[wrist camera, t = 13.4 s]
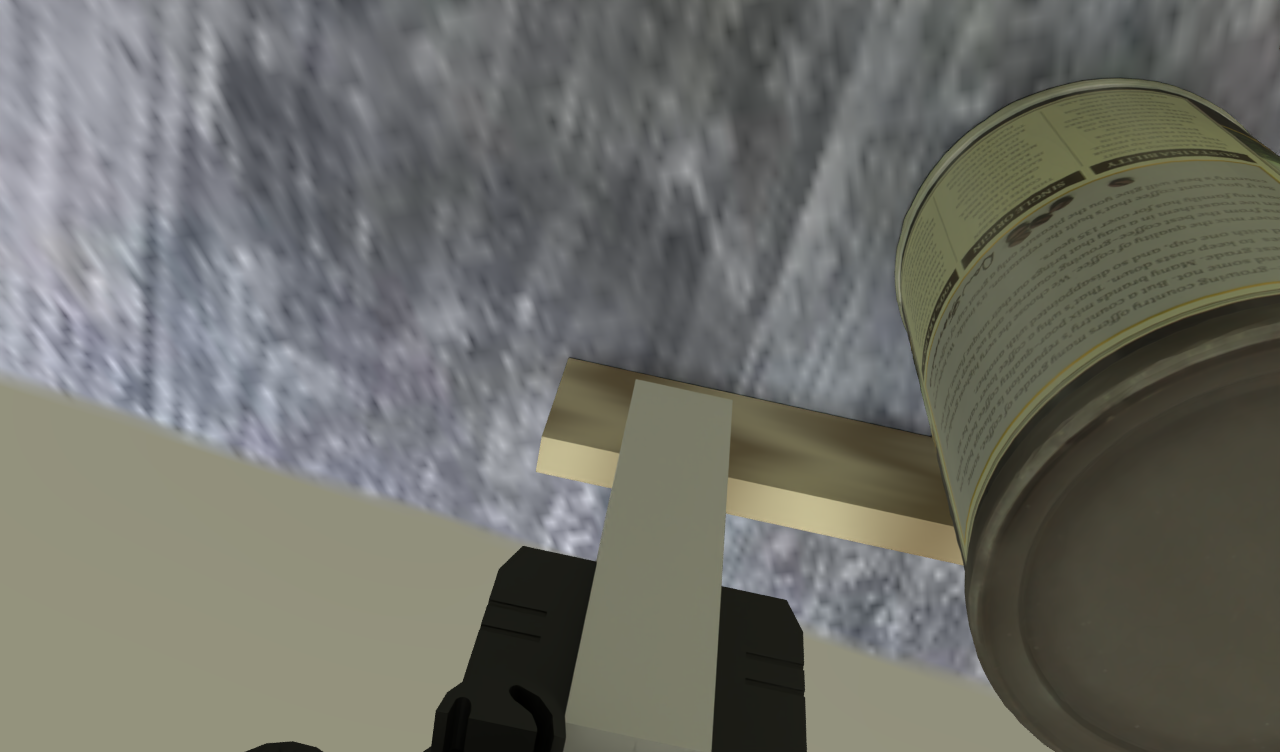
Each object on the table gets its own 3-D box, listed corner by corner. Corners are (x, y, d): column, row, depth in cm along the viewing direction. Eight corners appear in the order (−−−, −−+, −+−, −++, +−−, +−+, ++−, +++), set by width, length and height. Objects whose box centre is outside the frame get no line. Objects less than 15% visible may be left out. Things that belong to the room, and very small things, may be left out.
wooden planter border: (562, 390, 34) (525, 504, 29) (740, -598, 22) (731, -710, 17) (1284, 548, 34) (1376, 690, 29) (1855, -351, 22) (2190, -386, 17)
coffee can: (1364, 141, 28) (1829, 438, 16) (1158, 456, 33) (1386, 865, 21) (986, 19, 27) (1160, 226, 15) (837, 358, 32) (877, 718, 20)
